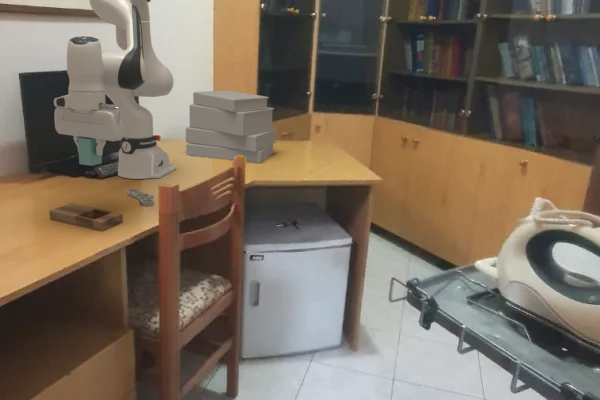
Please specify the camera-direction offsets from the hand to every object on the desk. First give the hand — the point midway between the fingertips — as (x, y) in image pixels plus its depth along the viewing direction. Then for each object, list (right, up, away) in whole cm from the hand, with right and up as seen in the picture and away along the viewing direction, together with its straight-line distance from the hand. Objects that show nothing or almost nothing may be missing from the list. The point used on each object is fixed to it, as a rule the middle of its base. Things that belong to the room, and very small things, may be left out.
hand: (90, 154), depth 145 cm
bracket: (+6, -13, +25) cm, 29 cm away
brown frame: (-3, -18, +4) cm, 19 cm away
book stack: (+26, +7, +91) cm, 95 cm away
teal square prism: (0, -3, +1) cm, 3 cm away
